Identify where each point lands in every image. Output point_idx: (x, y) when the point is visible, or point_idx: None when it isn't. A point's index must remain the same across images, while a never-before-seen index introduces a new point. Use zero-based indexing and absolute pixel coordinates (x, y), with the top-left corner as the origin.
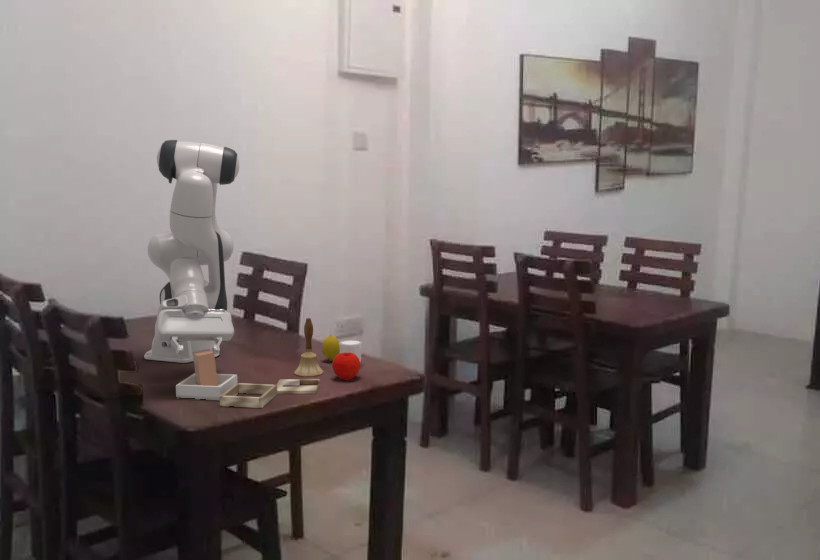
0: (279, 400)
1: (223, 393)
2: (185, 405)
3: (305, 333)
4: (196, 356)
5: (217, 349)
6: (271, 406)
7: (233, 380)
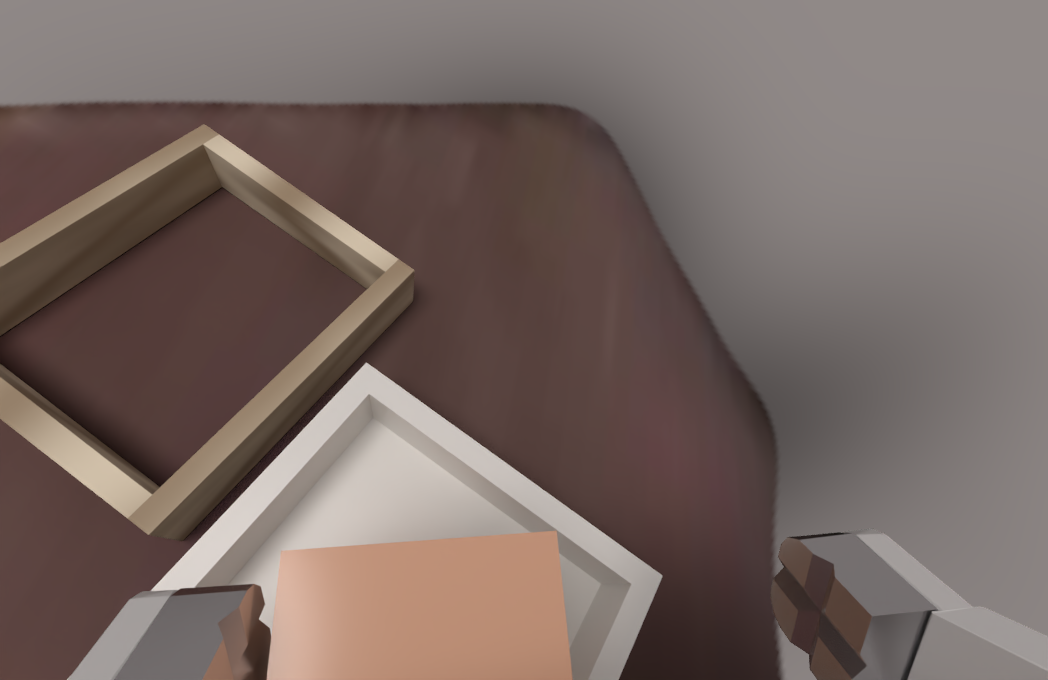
0: None
1: (370, 312)
2: (581, 403)
3: None
4: (555, 593)
5: (176, 598)
6: None
7: None
